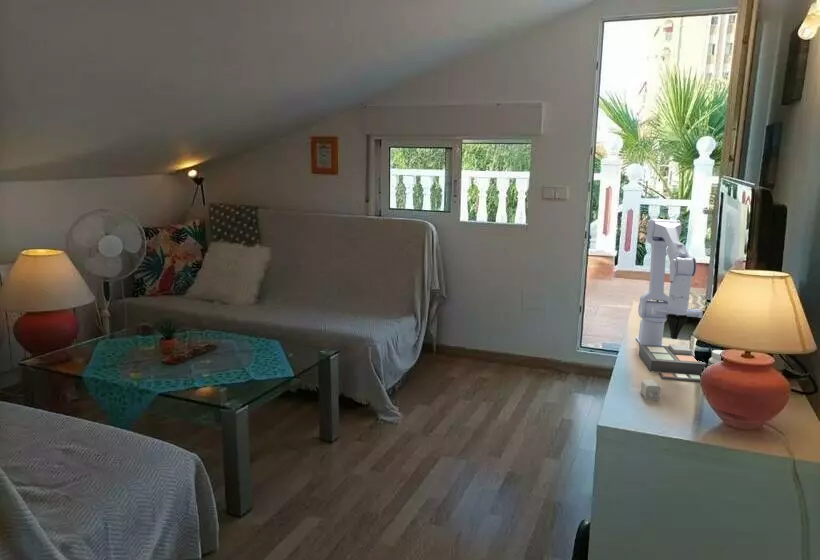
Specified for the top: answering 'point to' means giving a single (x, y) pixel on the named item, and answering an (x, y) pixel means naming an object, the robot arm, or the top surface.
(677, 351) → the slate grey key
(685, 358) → the terracotta key
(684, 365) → the keyguard pad
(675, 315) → the robot arm
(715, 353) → the pill bottle
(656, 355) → the sage key
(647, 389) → the usb wall charger
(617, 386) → the top surface
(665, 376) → the strip
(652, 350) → the ivory key
